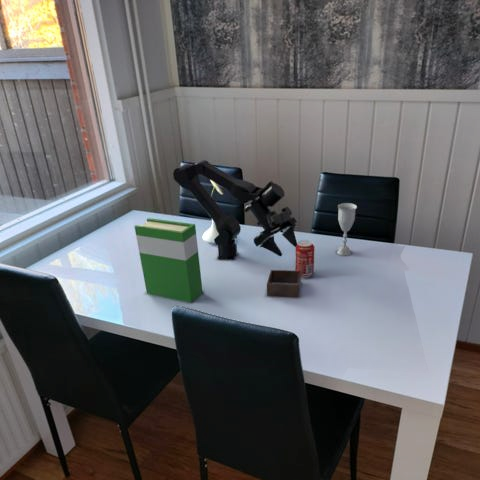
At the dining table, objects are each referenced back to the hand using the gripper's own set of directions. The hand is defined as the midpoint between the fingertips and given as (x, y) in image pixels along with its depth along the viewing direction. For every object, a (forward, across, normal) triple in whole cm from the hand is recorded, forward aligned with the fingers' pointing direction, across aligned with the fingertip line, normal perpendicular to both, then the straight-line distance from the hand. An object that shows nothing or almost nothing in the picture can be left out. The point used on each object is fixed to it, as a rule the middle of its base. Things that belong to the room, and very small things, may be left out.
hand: (289, 251), depth 163 cm
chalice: (+11, +24, -1) cm, 26 cm away
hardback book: (-10, -36, +21) cm, 42 cm away
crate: (+10, -12, 0) cm, 16 cm away
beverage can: (+10, 0, +1) cm, 10 cm away
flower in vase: (-24, +6, +35) cm, 43 cm away
